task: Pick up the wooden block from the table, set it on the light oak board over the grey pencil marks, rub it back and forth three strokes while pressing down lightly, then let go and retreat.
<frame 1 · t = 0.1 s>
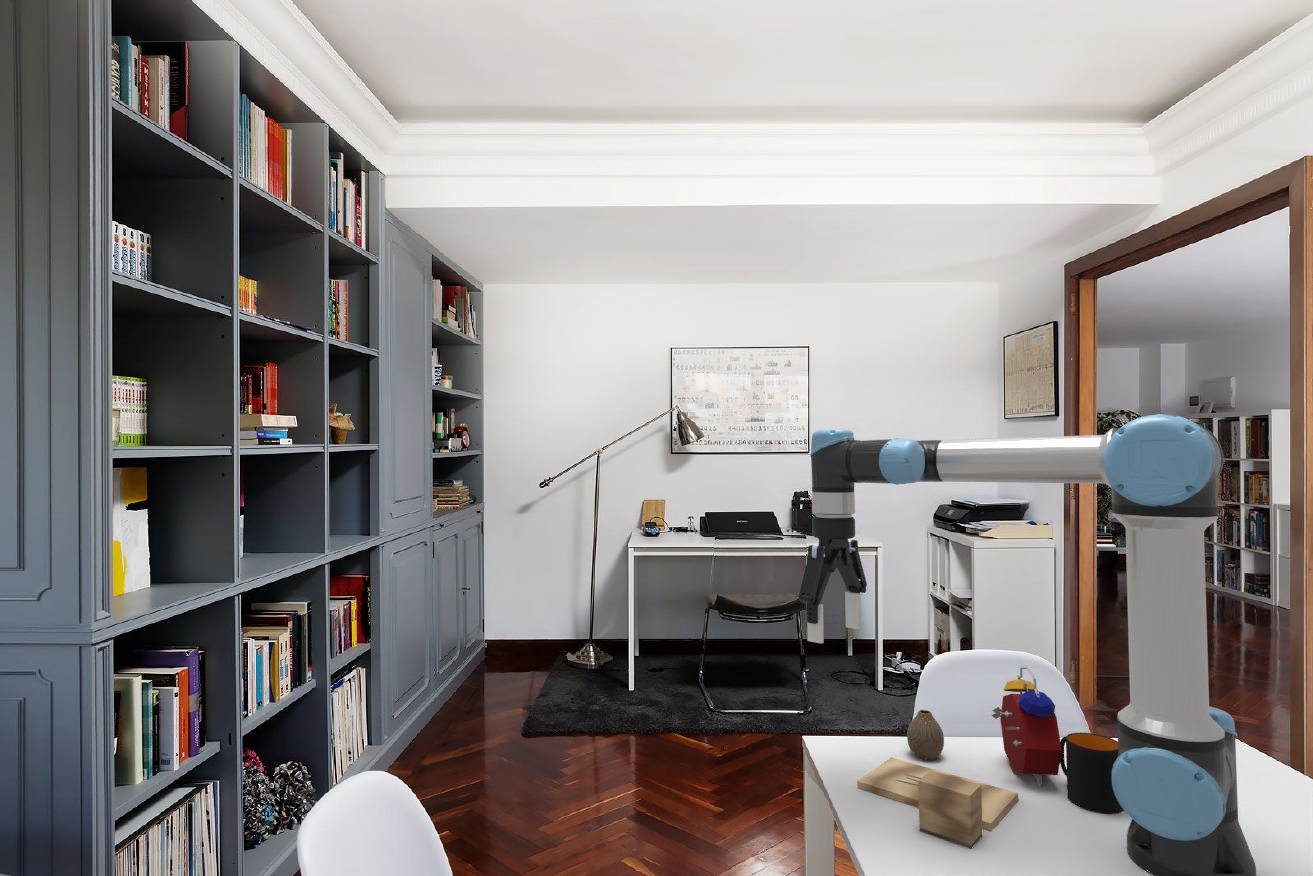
hand: (835, 635, 129), 28 cm above the table, fingers open, 13 cm apart
mug: (1086, 798, 126), on the table
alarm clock: (1023, 775, 136), on the table
wooden block: (950, 834, 114), on the table
vase: (925, 757, 144), on the table
board: (936, 793, 128), on the table
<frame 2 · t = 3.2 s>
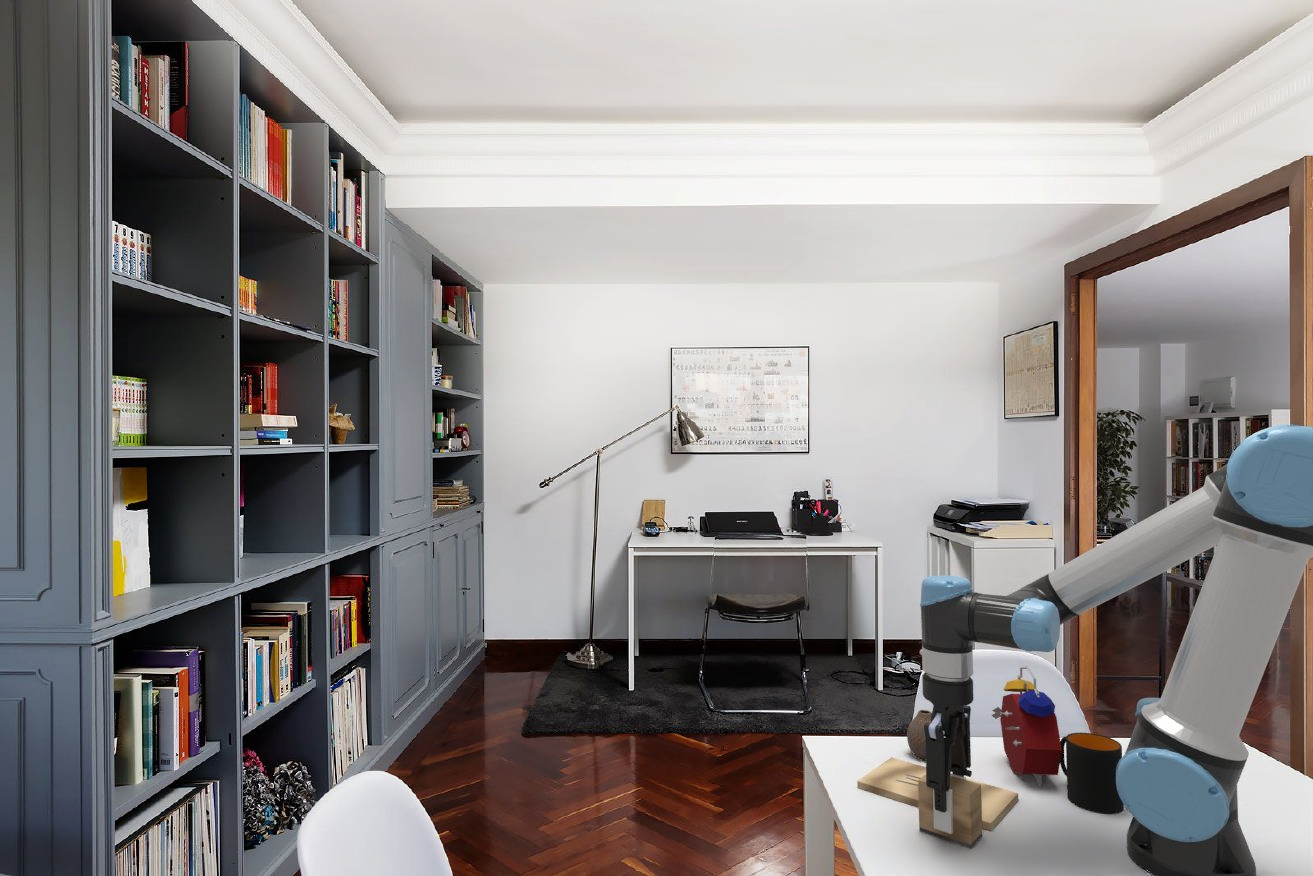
hand: (950, 823, 114), 2 cm above the table, fingers closed on wooden block, 5 cm apart
wooden block: (950, 833, 114), on the table, touching gripper
everything else where it was.
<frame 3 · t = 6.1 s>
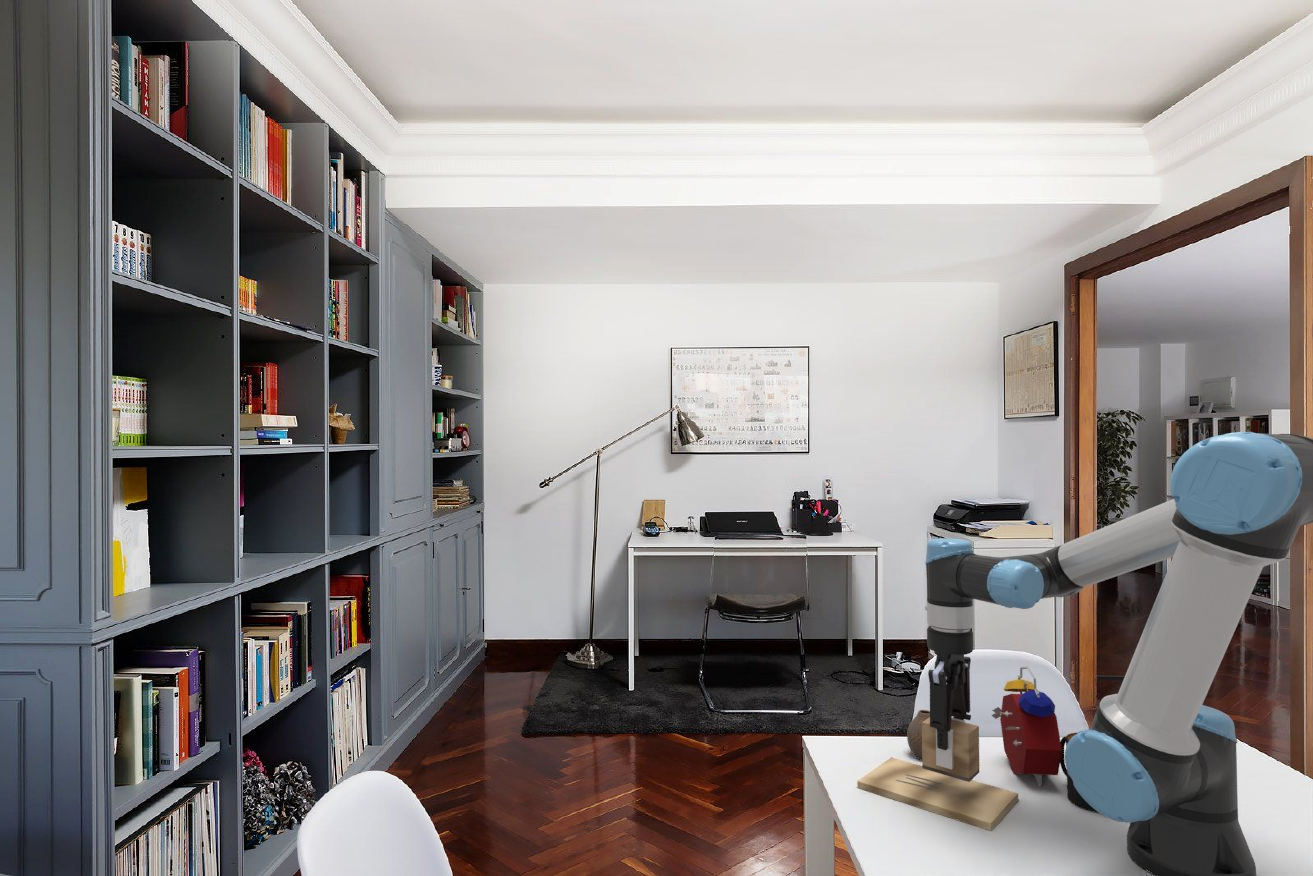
hand: (951, 761, 126), 6 cm above the table, fingers closed on wooden block, 5 cm apart
wooden block: (950, 770, 126), point 5 cm above the table, touching gripper
everything else where it was.
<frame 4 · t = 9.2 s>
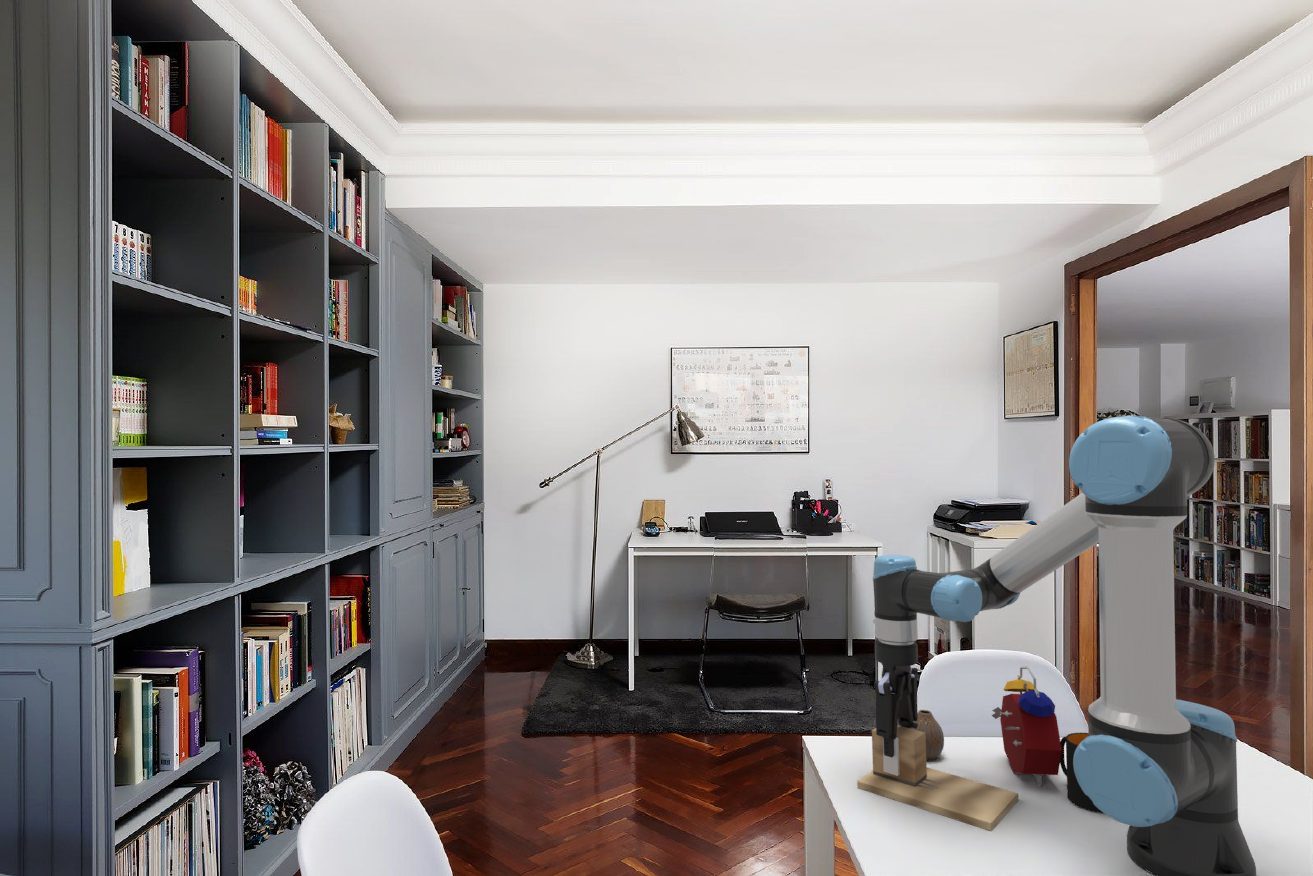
hand: (898, 767, 133), 3 cm above the table, fingers closed on wooden block, 5 cm apart
wooden block: (899, 775, 132), point 1 cm above the table, touching board, gripper
everything else where it was.
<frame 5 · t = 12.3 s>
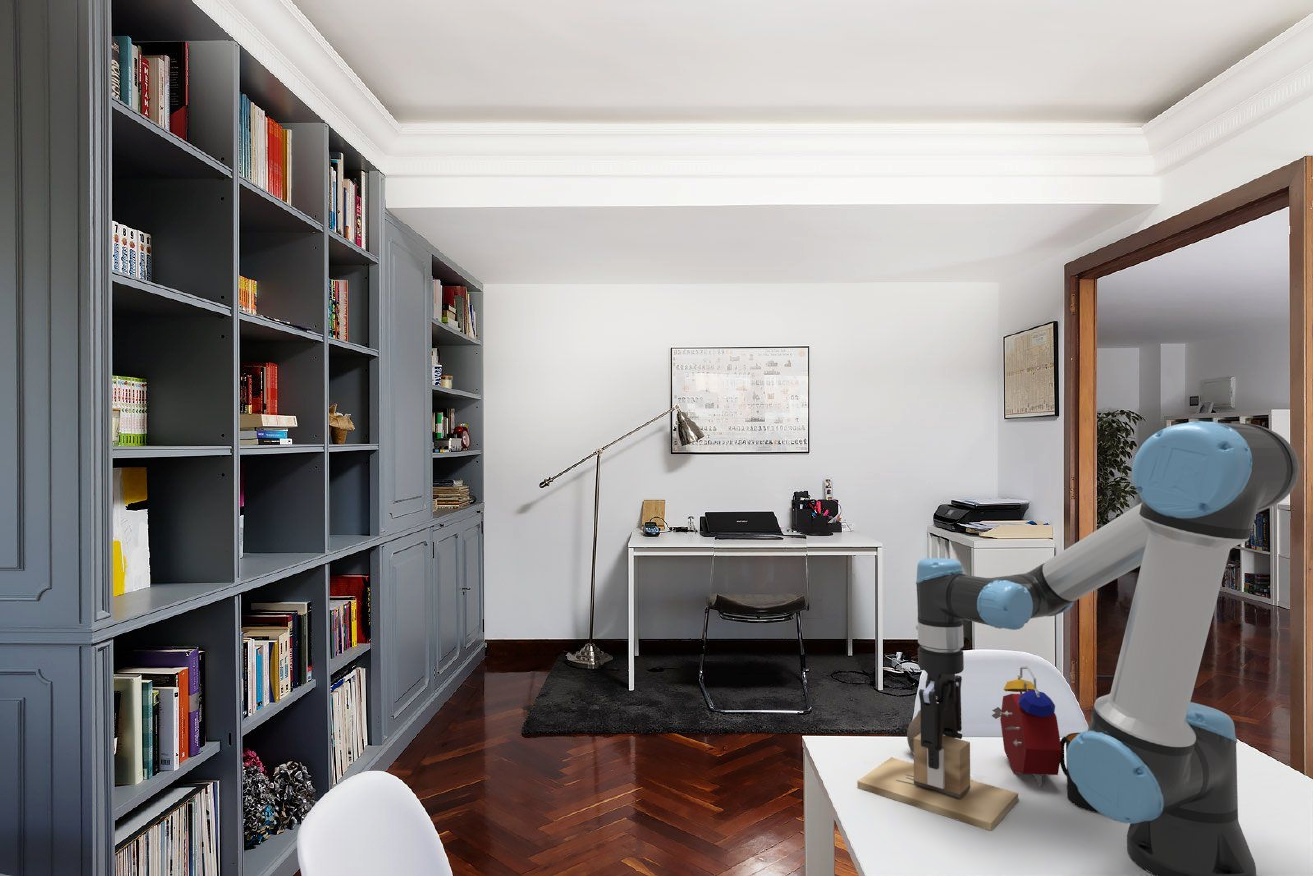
hand: (942, 780, 127), 3 cm above the table, fingers closed on wooden block, 5 cm apart
wooden block: (941, 786, 127), point 2 cm above the table, touching gripper
everything else where it was.
when the fingers open (3 cm above the table, at t = 15.0 s): wooden block stays where it is, resting on board.
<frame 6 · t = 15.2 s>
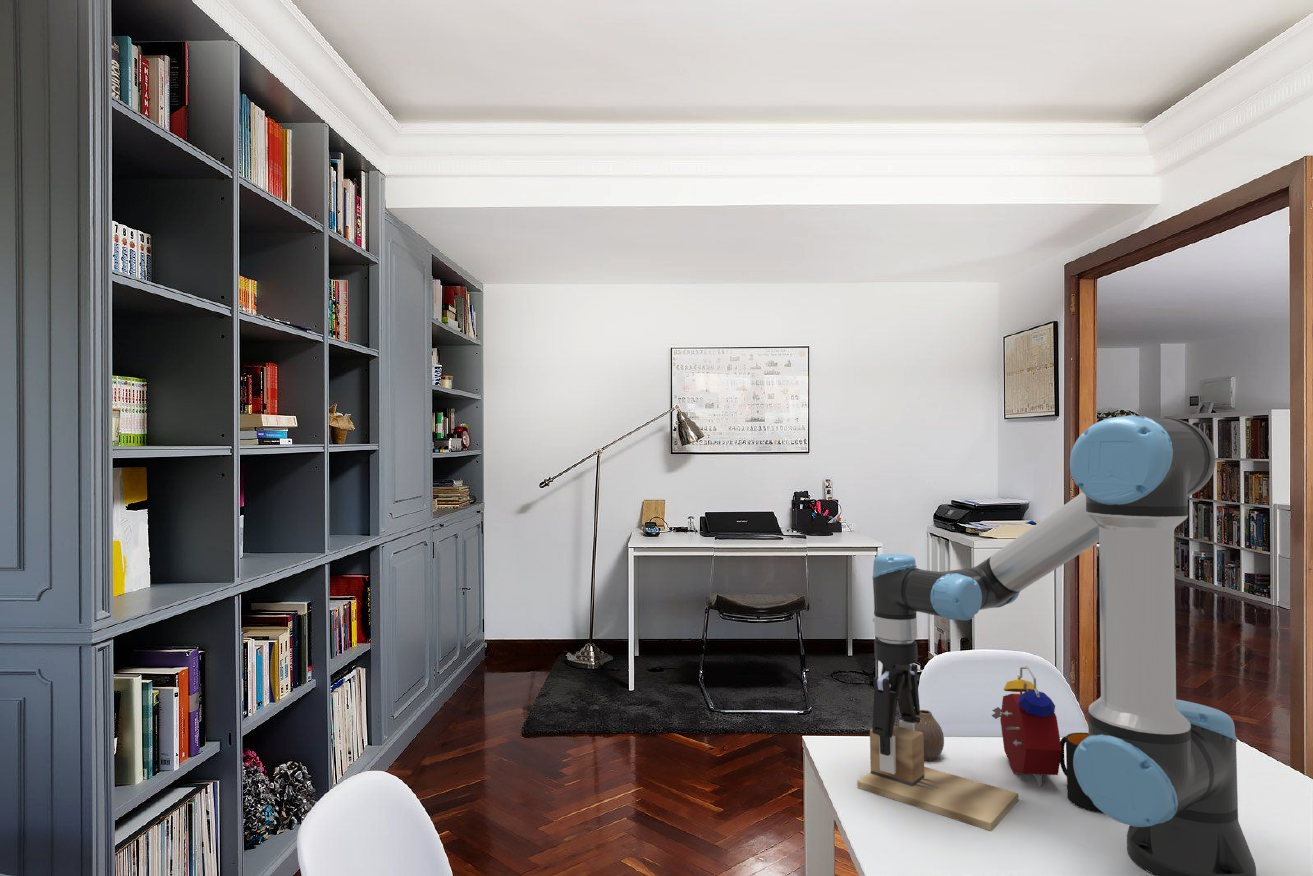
hand: (897, 764, 133), 3 cm above the table, fingers open, 8 cm apart
wooden block: (897, 775, 133), point 1 cm above the table, touching board
everything else where it was.
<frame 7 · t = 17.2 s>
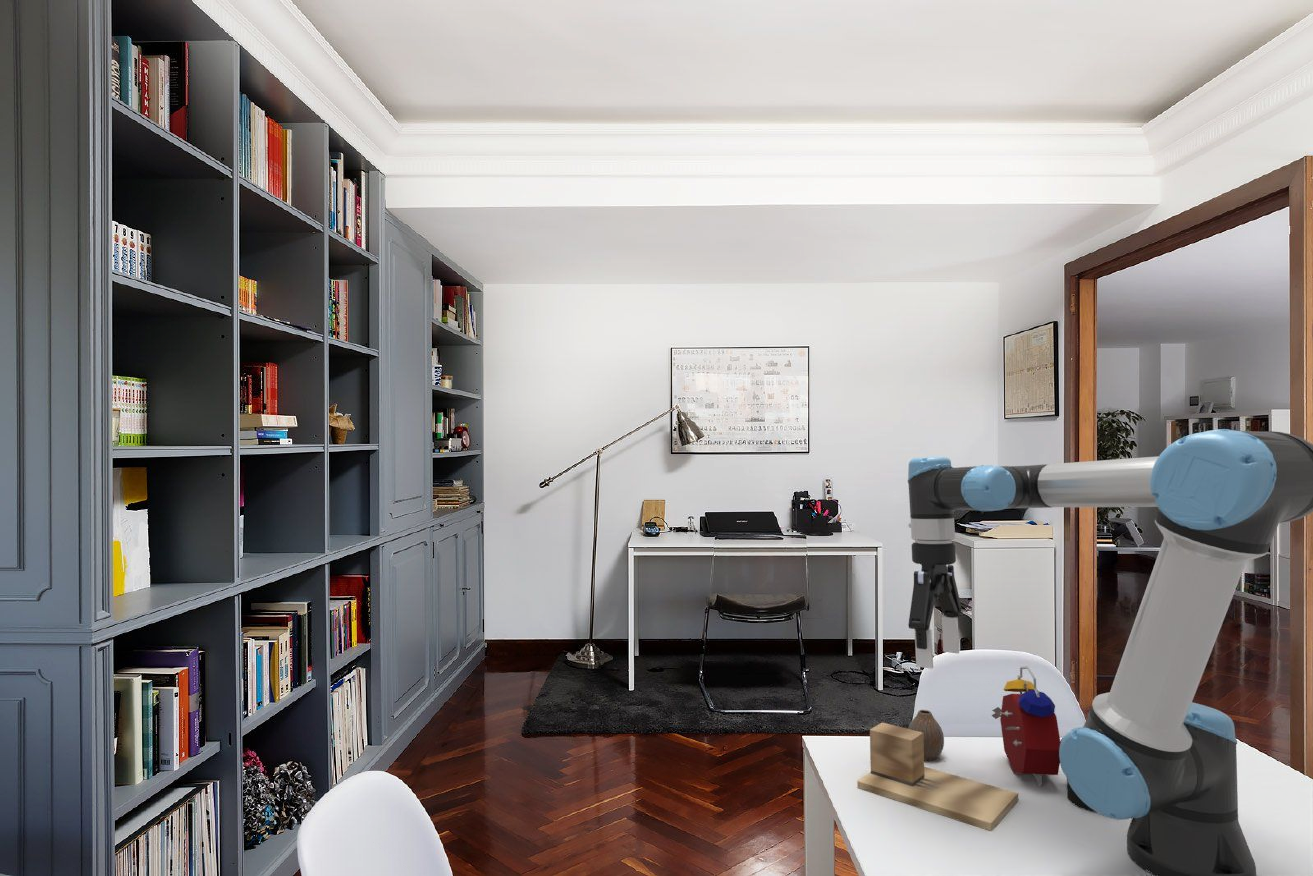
hand: (938, 659, 131), 23 cm above the table, fingers open, 13 cm apart
nothing on the table moved.
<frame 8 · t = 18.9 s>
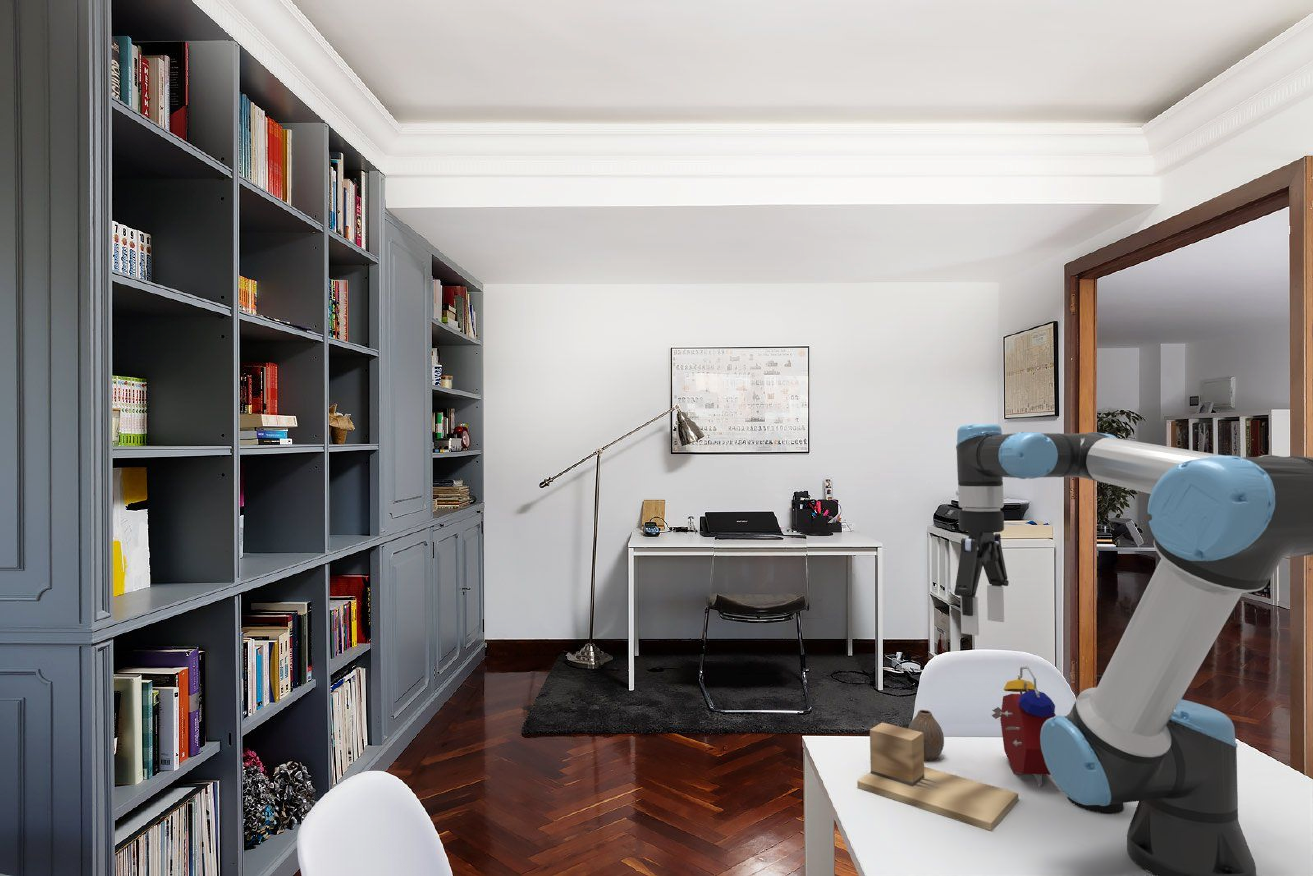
hand: (983, 627, 131), 29 cm above the table, fingers open, 13 cm apart
nothing on the table moved.
at the end: wooden block inside the target area (4.1 cm from its centre), point 1.2 cm above the table; wooden block moved 18.5 cm from its start; the gripper is holding nothing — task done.
